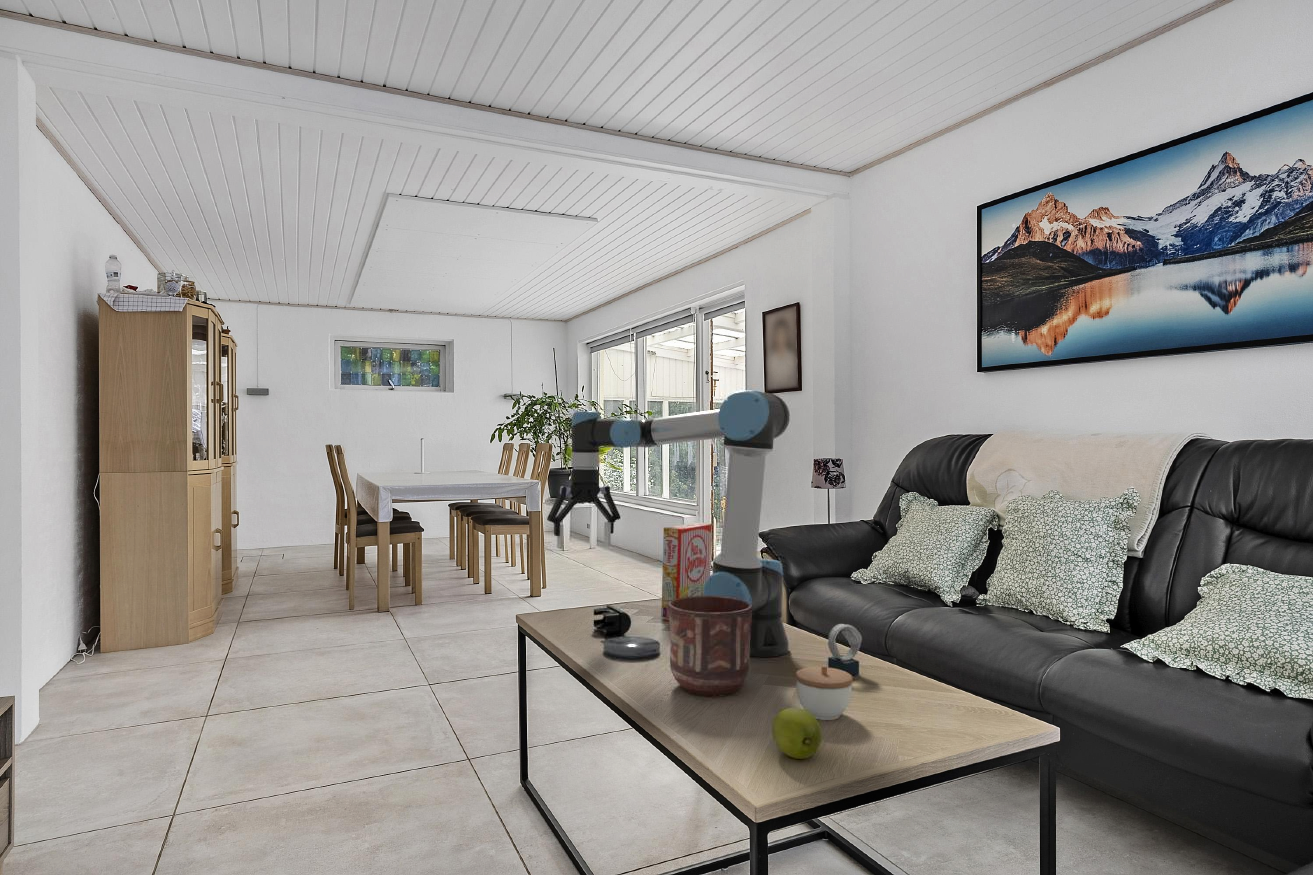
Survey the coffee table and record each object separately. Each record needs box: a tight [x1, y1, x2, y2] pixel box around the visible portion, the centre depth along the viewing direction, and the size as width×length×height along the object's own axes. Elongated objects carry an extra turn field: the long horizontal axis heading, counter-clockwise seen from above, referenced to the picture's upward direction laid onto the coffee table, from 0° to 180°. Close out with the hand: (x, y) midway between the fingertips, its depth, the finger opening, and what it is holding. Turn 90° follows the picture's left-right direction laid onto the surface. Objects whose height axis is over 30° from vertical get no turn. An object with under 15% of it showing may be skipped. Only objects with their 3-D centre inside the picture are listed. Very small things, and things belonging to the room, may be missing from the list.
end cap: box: [593, 604, 632, 639], centre depth 210 cm, size 10×7×7 cm
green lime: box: [771, 707, 823, 760], centre depth 130 cm, size 8×9×8 cm
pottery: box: [668, 596, 752, 697], centre depth 165 cm, size 18×18×18 cm
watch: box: [827, 623, 863, 677], centre depth 177 cm, size 6×8×11 cm
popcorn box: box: [660, 522, 712, 621], centre depth 234 cm, size 20×6×27 cm, turn 149°
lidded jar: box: [795, 665, 853, 721], centre depth 150 cm, size 11×11×9 cm
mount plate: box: [602, 636, 661, 661], centre depth 192 cm, size 14×14×2 cm
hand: (583, 547), depth 209 cm, fingers open, 13 cm apart
